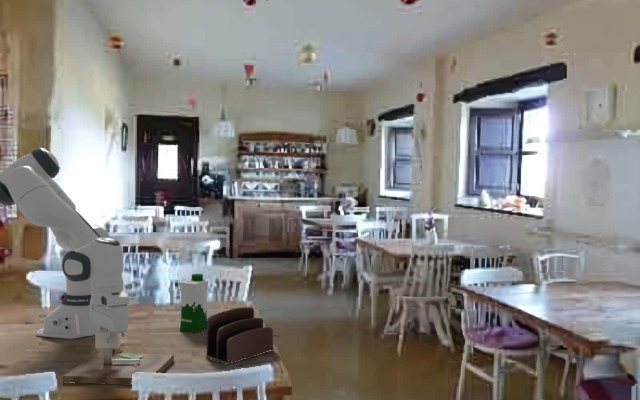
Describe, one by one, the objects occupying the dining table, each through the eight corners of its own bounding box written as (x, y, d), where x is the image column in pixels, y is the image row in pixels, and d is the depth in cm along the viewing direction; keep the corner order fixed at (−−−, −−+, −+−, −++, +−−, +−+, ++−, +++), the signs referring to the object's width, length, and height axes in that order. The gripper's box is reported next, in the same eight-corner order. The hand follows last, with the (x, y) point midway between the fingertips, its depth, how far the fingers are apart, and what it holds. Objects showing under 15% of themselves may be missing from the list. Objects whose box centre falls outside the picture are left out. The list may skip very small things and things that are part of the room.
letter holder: (205, 359, 192) (205, 314, 192) (252, 345, 208) (252, 304, 207) (227, 366, 186) (227, 319, 185) (273, 351, 201) (274, 308, 201)
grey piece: (95, 364, 178) (95, 333, 178) (97, 362, 180) (97, 331, 180) (138, 363, 179) (138, 332, 179) (140, 361, 181) (140, 330, 181)
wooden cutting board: (62, 383, 169) (62, 374, 169) (97, 358, 191) (97, 351, 191) (149, 385, 168) (149, 377, 168) (173, 361, 190) (173, 353, 189)
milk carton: (210, 328, 229) (210, 274, 228) (195, 334, 221) (195, 278, 220) (192, 325, 233) (192, 272, 232) (175, 331, 225) (175, 276, 224)
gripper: (83, 290, 184) (83, 336, 185) (110, 301, 169) (110, 352, 170) (104, 287, 189) (104, 333, 189) (132, 298, 173) (132, 348, 174)
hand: (107, 342), depth 179 cm, fingers closed on grey piece, 3 cm apart
